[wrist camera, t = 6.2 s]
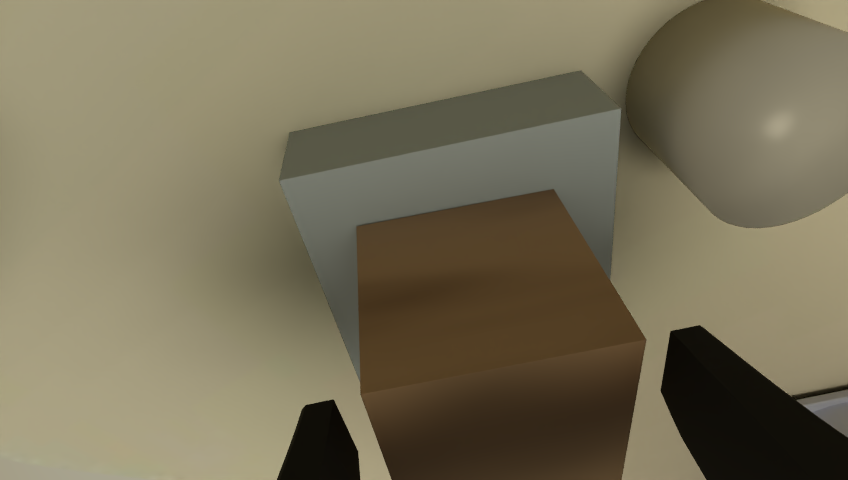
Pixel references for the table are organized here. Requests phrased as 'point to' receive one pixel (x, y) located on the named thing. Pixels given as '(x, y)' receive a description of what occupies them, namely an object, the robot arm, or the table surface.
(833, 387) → the table surface
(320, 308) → the table surface
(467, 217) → the walnut cube
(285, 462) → the robot arm
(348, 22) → the table surface
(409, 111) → the slate plinth
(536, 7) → the table surface
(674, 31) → the grey rounded lump
